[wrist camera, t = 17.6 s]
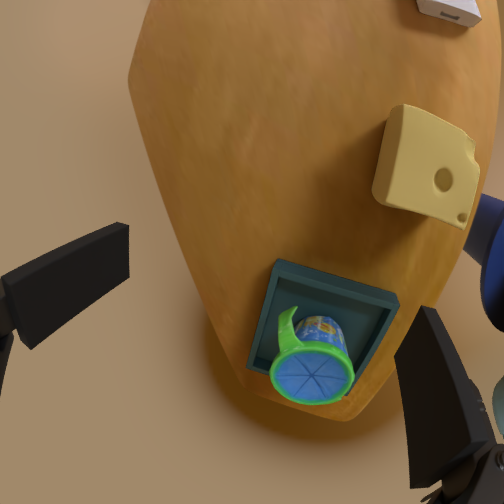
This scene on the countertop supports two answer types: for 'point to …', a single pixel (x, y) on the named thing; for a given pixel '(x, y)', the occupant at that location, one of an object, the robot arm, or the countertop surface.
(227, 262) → the countertop surface
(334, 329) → the snack cup
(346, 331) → the tray
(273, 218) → the countertop surface
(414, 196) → the cheese
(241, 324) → the countertop surface
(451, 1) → the charger
